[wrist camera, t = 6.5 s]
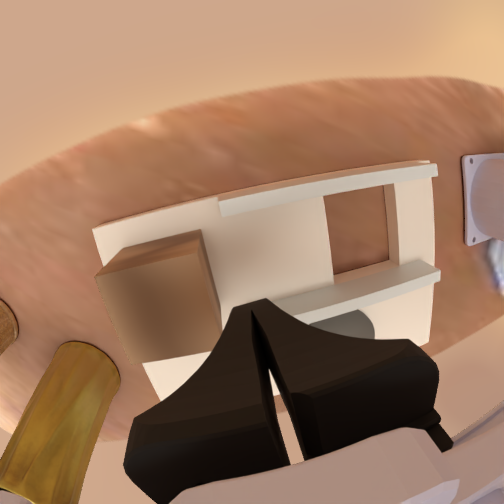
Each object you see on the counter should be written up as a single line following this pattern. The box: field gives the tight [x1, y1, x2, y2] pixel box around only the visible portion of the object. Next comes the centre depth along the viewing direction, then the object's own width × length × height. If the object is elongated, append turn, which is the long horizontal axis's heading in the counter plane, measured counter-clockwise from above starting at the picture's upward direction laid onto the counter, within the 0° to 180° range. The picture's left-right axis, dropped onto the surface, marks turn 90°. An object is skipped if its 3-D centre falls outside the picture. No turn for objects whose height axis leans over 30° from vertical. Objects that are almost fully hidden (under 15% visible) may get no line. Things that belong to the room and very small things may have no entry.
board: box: [92, 160, 435, 401], centre depth 21 cm, size 23×16×2 cm
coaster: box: [309, 309, 375, 339], centre depth 21 cm, size 6×6×1 cm
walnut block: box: [95, 229, 223, 365], centre depth 16 cm, size 5×5×5 cm
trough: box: [218, 162, 441, 324], centre depth 18 cm, size 14×8×2 cm, turn 101°
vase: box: [0, 342, 120, 504], centre depth 14 cm, size 6×6×14 cm
